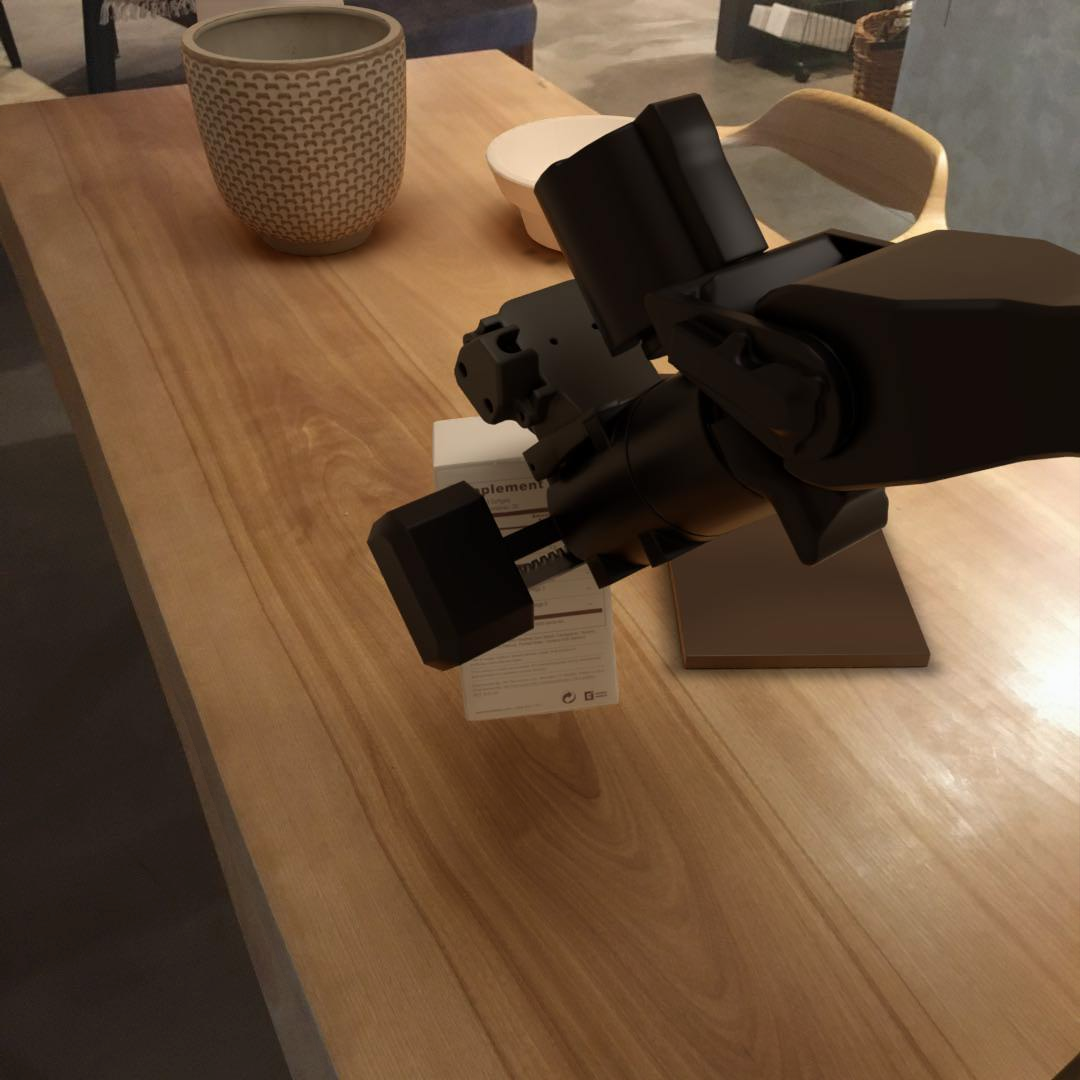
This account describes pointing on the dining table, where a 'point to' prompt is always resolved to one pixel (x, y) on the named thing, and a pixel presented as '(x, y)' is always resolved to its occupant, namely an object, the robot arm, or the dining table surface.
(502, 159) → the bowl
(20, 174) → the dining table surface
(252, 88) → the planter
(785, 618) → the board
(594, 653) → the white packaging box
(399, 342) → the dining table surface
